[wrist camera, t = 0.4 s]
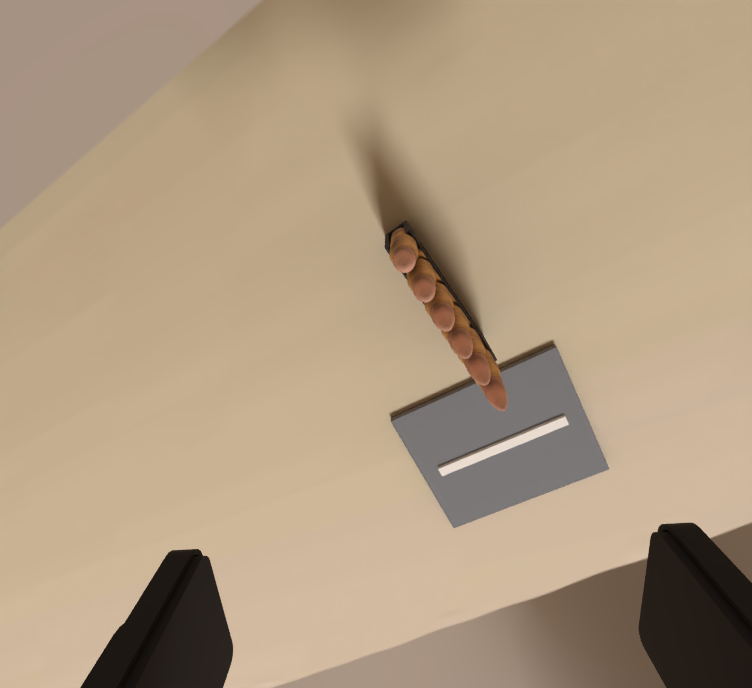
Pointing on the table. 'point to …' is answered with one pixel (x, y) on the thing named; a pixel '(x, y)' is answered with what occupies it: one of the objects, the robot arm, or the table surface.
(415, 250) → the ammunition clip
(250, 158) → the table surface
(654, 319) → the table surface
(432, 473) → the mat
